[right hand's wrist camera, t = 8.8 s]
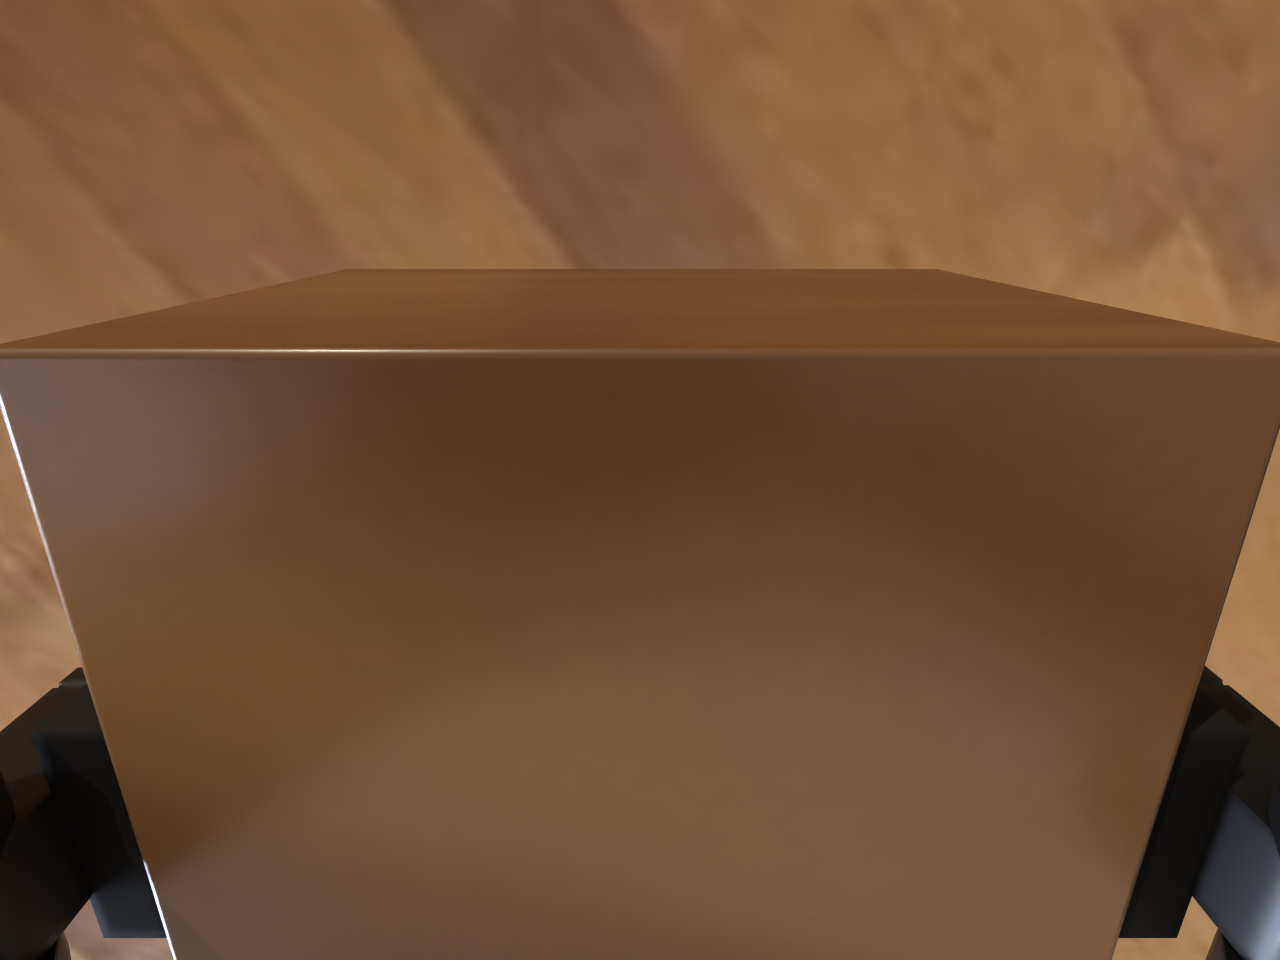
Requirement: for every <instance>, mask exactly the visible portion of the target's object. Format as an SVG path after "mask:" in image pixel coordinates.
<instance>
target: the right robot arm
mask: <svg viewBox="0 0 1280 960" xmlns="http://www.w3.org/2000/svg"><path fill="white" fill-rule="evenodd" d="M1192 896H1193V897H1194V899H1195V900H1196V901H1197V902H1198V904H1199V905H1200V906H1201V907H1202V909H1203V910H1204V911H1205V912H1206V914H1207V915H1208V916H1209V917H1210V919H1211V920H1212V921H1213V922H1214V924H1215V925H1216V926H1217V927H1218V929H1217V932H1216V934H1215V937H1214V940H1213V942H1212V945H1211V947H1210V950H1209V952H1208V955H1207V958H1206V960H1280V727H1279V726H1277V725H1276V724H1275V723H1274V722H1273V721H1271V720H1270V719H1269V718H1268V717H1267V716H1265V715H1264V714H1263V713H1262V712H1260V711H1259V710H1258V709H1257V708H1256V707H1254V706H1253V705H1252V704H1251V703H1250V702H1248V701H1247V700H1246V699H1245V698H1243V697H1242V696H1241V695H1240V694H1239V693H1237V692H1236V691H1235V690H1234V689H1233V688H1231V687H1230V686H1229V685H1223V683H1222V679H1220V678H1219V677H1218V676H1217V675H1216V674H1214V673H1213V672H1212V671H1211V670H1209V669H1208V668H1207V667H1206V666H1205V665H1204V669H1203V672H1202V675H1201V678H1200V681H1199V684H1198V687H1197V691H1196V694H1195V697H1194V700H1193V703H1192V706H1191V710H1190V713H1189V716H1188V719H1187V722H1186V725H1185V729H1184V732H1183V735H1182V738H1181V741H1180V744H1179V747H1178V751H1177V754H1176V757H1175V760H1174V763H1173V766H1172V770H1171V773H1170V776H1169V779H1168V782H1167V785H1166V789H1165V792H1164V795H1163V798H1162V801H1161V804H1160V807H1159V811H1158V814H1157V817H1156V820H1155V823H1154V826H1153V830H1152V833H1151V836H1150V839H1149V842H1148V845H1147V848H1146V852H1145V855H1144V858H1143V861H1142V864H1141V867H1140V871H1139V874H1138V877H1137V880H1136V883H1135V886H1134V890H1133V893H1132V896H1131V899H1130V902H1129V905H1128V908H1127V912H1126V915H1125V918H1124V921H1123V924H1122V927H1121V931H1120V934H1119V937H1118V938H1177V936H1178V933H1179V930H1180V927H1181V925H1182V922H1183V919H1184V916H1185V914H1186V911H1187V908H1188V905H1189V903H1190V900H1191V897H1192ZM89 898H90V901H91V903H92V906H93V909H94V912H95V914H96V917H97V920H98V923H99V925H100V928H101V931H102V934H103V936H104V938H167V936H166V933H165V929H164V926H163V923H162V920H161V917H160V914H159V910H158V907H157V904H156V901H155V898H154V894H153V891H152V888H151V885H150V882H149V878H148V875H147V872H146V869H145V866H144V863H143V859H142V856H141V853H140V850H139V847H138V843H137V840H136V837H135V834H134V831H133V828H132V824H131V821H130V818H129V815H128V812H127V808H126V805H125V802H124V799H123V796H122V792H121V789H120V786H119V783H118V780H117V777H116V773H115V770H114V767H113V764H112V761H111V757H110V754H109V751H108V748H107V745H106V742H105V738H104V735H103V732H102V729H101V726H100V722H99V719H98V716H97V713H96V710H95V706H94V703H93V700H92V697H91V694H90V691H89V687H88V684H87V681H86V678H85V675H84V671H83V668H77V669H75V670H74V671H73V672H72V673H71V674H69V675H68V676H67V677H66V678H65V679H63V680H62V681H61V682H60V683H59V688H53V689H51V690H50V691H49V692H48V693H46V694H45V695H44V696H43V697H42V698H40V699H39V700H38V701H37V702H36V703H34V704H33V705H32V706H31V707H30V708H28V709H27V710H26V711H25V712H24V713H22V714H21V715H20V716H19V717H18V718H16V719H15V720H14V721H13V722H12V723H10V724H9V725H8V726H7V727H5V728H4V729H3V730H2V731H1V732H0V960H71V956H70V950H69V945H68V942H67V940H66V937H65V934H64V932H63V931H64V930H65V929H66V927H67V926H68V925H69V924H70V922H71V921H72V920H73V919H74V917H75V916H76V915H77V914H78V912H79V911H80V910H81V908H82V907H83V906H84V905H85V903H86V902H87V901H88V900H89Z"/></svg>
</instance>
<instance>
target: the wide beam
mask: <svg viewBox="0 0 1280 960" xmlns="http://www.w3.org/2000/svg"><path fill="white" fill-rule="evenodd" d="M0 407H1V410H2V413H3V417H4V420H5V423H6V426H7V429H8V433H9V436H10V439H11V442H12V445H13V448H14V452H15V455H16V458H17V461H18V464H19V468H20V471H21V474H22V477H23V480H24V483H25V487H26V490H27V493H28V496H29V499H30V503H31V506H32V509H33V512H34V515H35V519H36V522H37V525H38V528H39V531H40V534H41V538H42V541H43V544H44V547H45V550H46V554H47V557H48V560H49V563H50V566H51V569H52V573H53V576H54V579H55V582H56V585H57V589H58V592H59V595H60V598H61V601H62V605H63V608H64V611H65V614H66V617H67V620H68V624H69V627H70V630H71V633H72V636H73V640H74V643H75V646H76V649H77V652H78V656H79V659H80V662H81V665H82V668H83V671H84V675H85V678H86V681H87V684H88V687H89V691H90V694H91V697H92V700H93V703H94V706H95V710H96V713H97V716H98V719H99V722H100V726H101V729H102V732H103V735H104V738H105V742H106V745H107V748H108V751H109V754H110V757H111V761H112V764H113V767H114V770H115V773H116V777H117V780H118V783H119V786H120V789H121V792H122V796H123V799H124V802H125V805H126V808H127V812H128V815H129V818H130V821H131V824H132V828H133V831H134V834H135V837H136V840H137V843H138V847H139V850H140V853H141V856H142V859H143V863H144V866H145V869H146V872H147V875H148V878H149V882H150V885H151V888H152V891H153V894H154V898H155V901H156V904H157V907H158V910H159V914H160V917H161V920H162V923H163V926H164V929H165V933H166V936H167V939H168V942H169V945H170V949H171V952H172V955H173V958H174V960H1111V959H1112V956H1113V953H1114V950H1115V946H1116V943H1117V940H1118V937H1119V934H1120V931H1121V927H1122V924H1123V921H1124V918H1125V915H1126V912H1127V908H1128V905H1129V902H1130V899H1131V896H1132V893H1133V890H1134V886H1135V883H1136V880H1137V877H1138V874H1139V871H1140V867H1141V864H1142V861H1143V858H1144V855H1145V852H1146V848H1147V845H1148V842H1149V839H1150V836H1151V833H1152V830H1153V826H1154V823H1155V820H1156V817H1157V814H1158V811H1159V807H1160V804H1161V801H1162V798H1163V795H1164V792H1165V789H1166V785H1167V782H1168V779H1169V776H1170V773H1171V770H1172V766H1173V763H1174V760H1175V757H1176V754H1177V751H1178V747H1179V744H1180V741H1181V738H1182V735H1183V732H1184V729H1185V725H1186V722H1187V719H1188V716H1189V713H1190V710H1191V706H1192V703H1193V700H1194V697H1195V694H1196V691H1197V687H1198V684H1199V681H1200V678H1201V675H1202V672H1203V669H1204V665H1205V662H1206V659H1207V656H1208V653H1209V650H1210V646H1211V643H1212V640H1213V637H1214V634H1215V631H1216V627H1217V624H1218V621H1219V618H1220V615H1221V612H1222V609H1223V605H1224V602H1225V599H1226V596H1227V593H1228V590H1229V586H1230V583H1231V580H1232V577H1233V574H1234V571H1235V568H1236V564H1237V561H1238V558H1239V555H1240V552H1241V549H1242V545H1243V542H1244V539H1245V536H1246V533H1247V530H1248V526H1249V523H1250V520H1251V517H1252V514H1253V511H1254V508H1255V504H1256V501H1257V498H1258V495H1259V492H1260V489H1261V485H1262V482H1263V479H1264V476H1265V473H1266V470H1267V466H1268V463H1269V460H1270V457H1271V454H1272V451H1273V448H1274V444H1275V441H1276V438H1277V435H1278V432H1279V429H1280V342H1275V341H1270V340H1265V339H1261V338H1256V337H1251V336H1247V335H1242V334H1237V333H1233V332H1228V331H1223V330H1219V329H1214V328H1209V327H1205V326H1200V325H1195V324H1191V323H1186V322H1181V321H1176V320H1172V319H1167V318H1162V317H1158V316H1153V315H1148V314H1144V313H1139V312H1134V311H1130V310H1125V309H1120V308H1116V307H1111V306H1106V305H1102V304H1097V303H1092V302H1087V301H1083V300H1078V299H1073V298H1069V297H1064V296H1059V295H1055V294H1050V293H1045V292H1041V291H1036V290H1031V289H1027V288H1022V287H1017V286H1013V285H1008V284H1003V283H998V282H994V281H989V280H984V279H980V278H975V277H970V276H966V275H961V274H956V273H952V272H947V271H942V270H938V269H346V270H342V271H337V272H333V273H328V274H323V275H319V276H314V277H309V278H305V279H300V280H296V281H291V282H286V283H282V284H277V285H272V286H268V287H263V288H259V289H254V290H249V291H245V292H240V293H235V294H231V295H226V296H222V297H217V298H212V299H208V300H203V301H198V302H194V303H189V304H184V305H180V306H175V307H171V308H166V309H161V310H157V311H152V312H147V313H143V314H138V315H134V316H129V317H124V318H120V319H115V320H110V321H106V322H101V323H97V324H92V325H87V326H83V327H78V328H73V329H69V330H64V331H60V332H55V333H50V334H46V335H41V336H36V337H32V338H27V339H23V340H18V341H13V342H9V343H4V344H0Z"/></svg>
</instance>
